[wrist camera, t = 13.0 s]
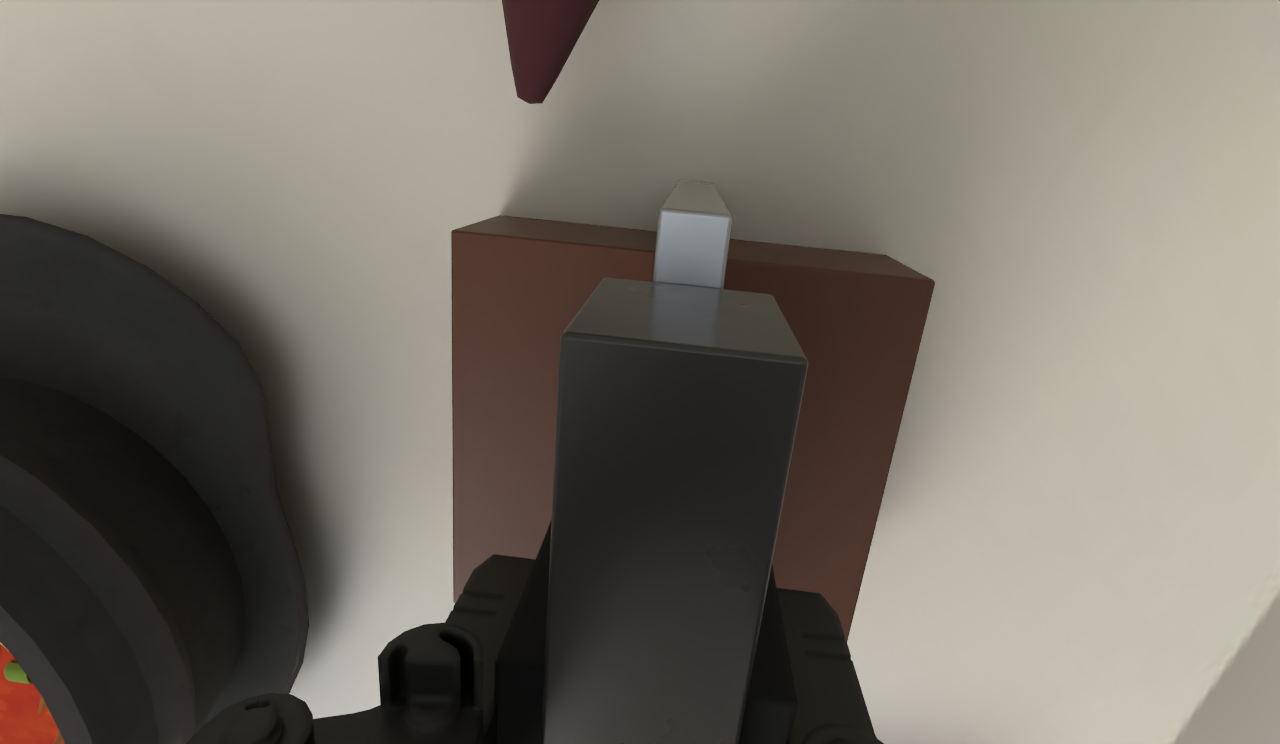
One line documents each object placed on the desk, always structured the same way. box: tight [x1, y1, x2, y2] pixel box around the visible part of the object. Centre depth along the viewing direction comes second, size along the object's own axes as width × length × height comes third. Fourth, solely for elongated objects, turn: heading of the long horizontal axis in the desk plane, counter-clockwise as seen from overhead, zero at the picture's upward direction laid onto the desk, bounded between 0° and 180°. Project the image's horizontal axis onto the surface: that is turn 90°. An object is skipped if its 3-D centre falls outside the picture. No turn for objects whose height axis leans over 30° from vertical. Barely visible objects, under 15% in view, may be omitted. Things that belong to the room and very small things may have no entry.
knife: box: [541, 180, 808, 744], centre depth 14 cm, size 2×14×13 cm, turn 175°
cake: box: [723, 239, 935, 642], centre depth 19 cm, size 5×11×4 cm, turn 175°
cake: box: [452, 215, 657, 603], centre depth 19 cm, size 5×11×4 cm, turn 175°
